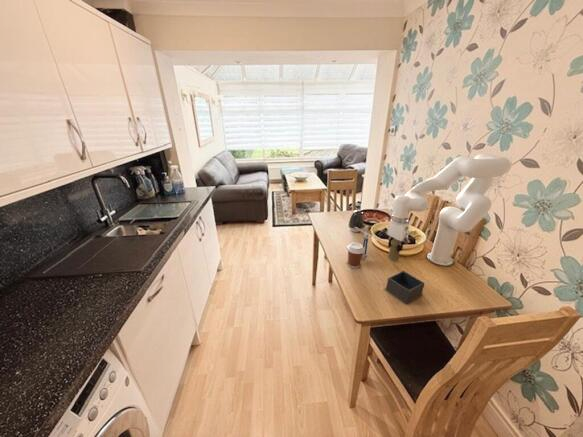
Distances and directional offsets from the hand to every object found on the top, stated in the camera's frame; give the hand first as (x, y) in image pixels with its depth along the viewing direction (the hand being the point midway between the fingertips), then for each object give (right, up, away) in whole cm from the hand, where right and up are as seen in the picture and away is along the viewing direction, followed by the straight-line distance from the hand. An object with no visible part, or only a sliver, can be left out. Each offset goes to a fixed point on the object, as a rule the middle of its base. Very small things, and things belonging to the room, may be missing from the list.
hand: (394, 248), depth 132 cm
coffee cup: (-23, -9, 0) cm, 25 cm away
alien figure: (-16, -6, +7) cm, 19 cm away
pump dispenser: (-12, +8, +38) cm, 40 cm away
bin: (-5, -18, -21) cm, 28 cm away
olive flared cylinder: (0, -6, +2) cm, 6 cm away
